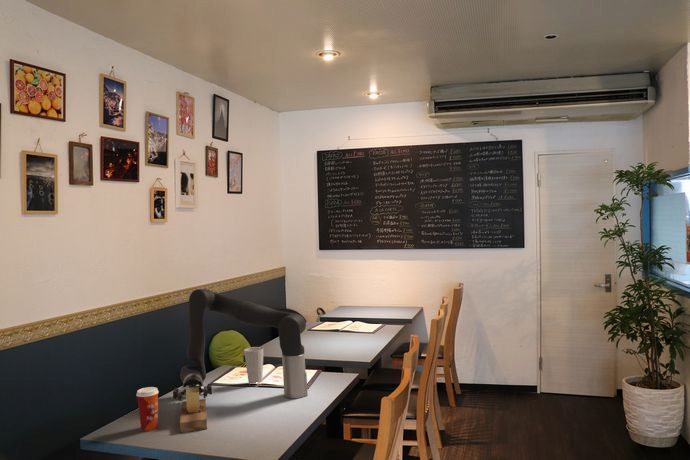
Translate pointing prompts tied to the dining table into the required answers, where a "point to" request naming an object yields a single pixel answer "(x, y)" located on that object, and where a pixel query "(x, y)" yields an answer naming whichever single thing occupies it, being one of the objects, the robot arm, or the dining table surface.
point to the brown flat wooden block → (193, 418)
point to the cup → (254, 364)
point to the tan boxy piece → (192, 400)
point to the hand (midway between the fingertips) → (192, 396)
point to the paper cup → (148, 408)
